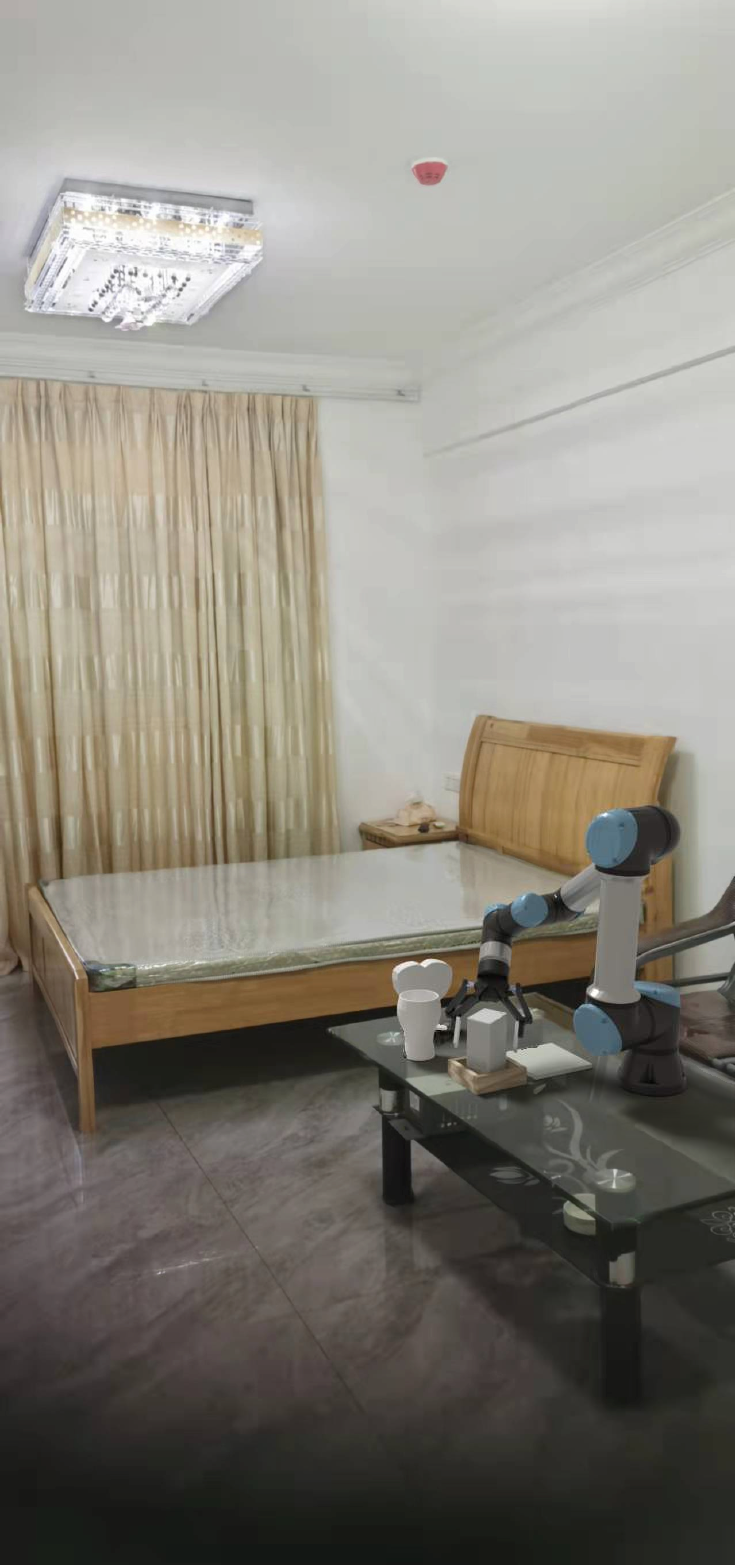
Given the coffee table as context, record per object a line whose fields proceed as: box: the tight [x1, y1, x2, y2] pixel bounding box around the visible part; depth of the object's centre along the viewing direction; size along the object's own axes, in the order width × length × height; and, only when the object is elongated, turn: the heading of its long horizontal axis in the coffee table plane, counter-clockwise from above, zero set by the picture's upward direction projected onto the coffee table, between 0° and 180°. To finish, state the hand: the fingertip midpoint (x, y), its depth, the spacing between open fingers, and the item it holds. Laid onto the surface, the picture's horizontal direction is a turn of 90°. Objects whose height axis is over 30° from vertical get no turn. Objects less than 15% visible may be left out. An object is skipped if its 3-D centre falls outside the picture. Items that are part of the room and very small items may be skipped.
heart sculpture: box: [391, 958, 453, 1031], centre depth 302 cm, size 16×5×18 cm, turn 111°
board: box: [506, 1042, 593, 1081], centre depth 279 cm, size 16×16×1 cm
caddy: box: [447, 1055, 528, 1096], centre depth 268 cm, size 12×13×4 cm
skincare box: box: [466, 1008, 508, 1075], centre depth 268 cm, size 8×7×16 cm
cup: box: [396, 990, 442, 1062], centre depth 283 cm, size 11×11×15 cm
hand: (485, 1047), depth 266 cm, fingers open, 13 cm apart
